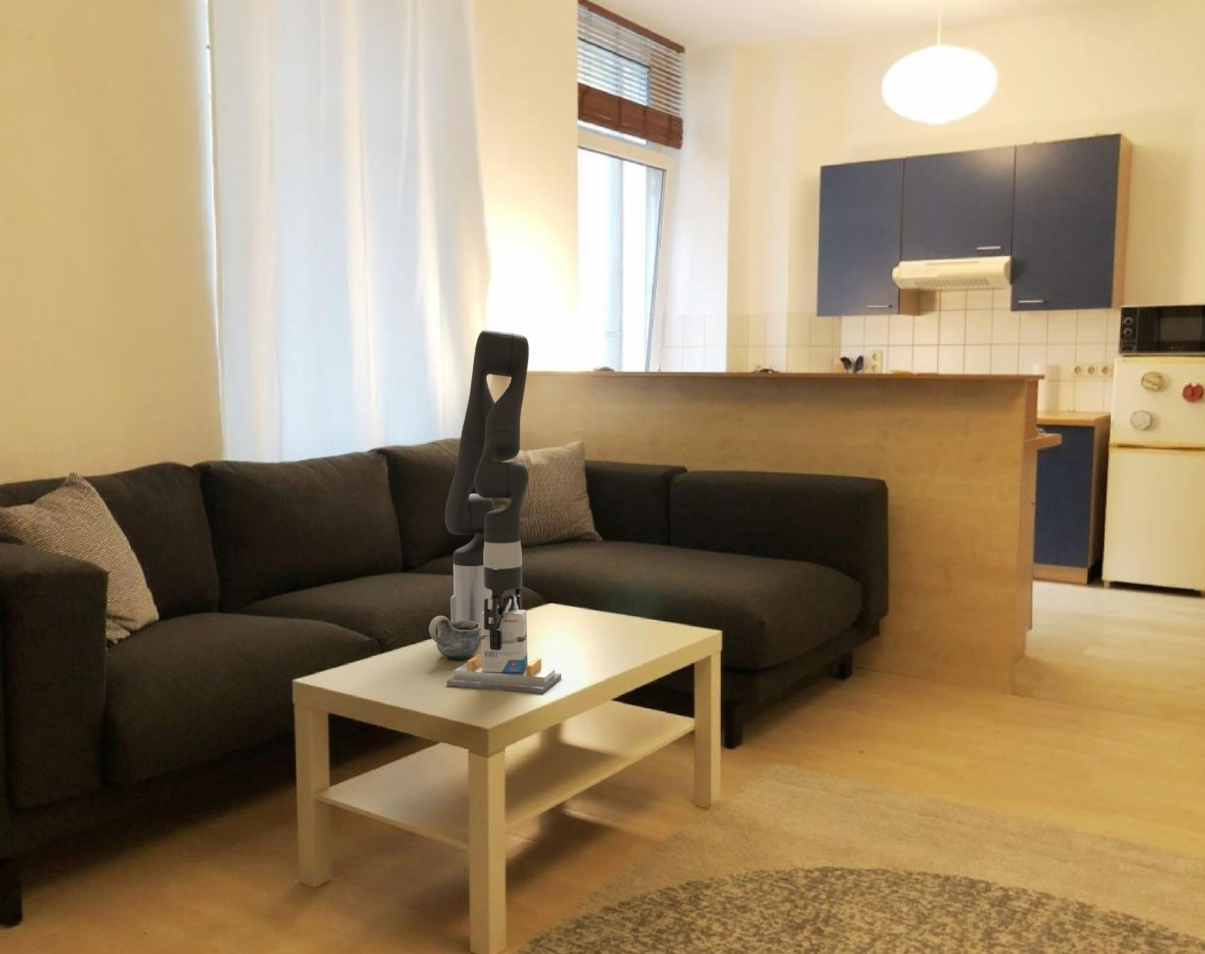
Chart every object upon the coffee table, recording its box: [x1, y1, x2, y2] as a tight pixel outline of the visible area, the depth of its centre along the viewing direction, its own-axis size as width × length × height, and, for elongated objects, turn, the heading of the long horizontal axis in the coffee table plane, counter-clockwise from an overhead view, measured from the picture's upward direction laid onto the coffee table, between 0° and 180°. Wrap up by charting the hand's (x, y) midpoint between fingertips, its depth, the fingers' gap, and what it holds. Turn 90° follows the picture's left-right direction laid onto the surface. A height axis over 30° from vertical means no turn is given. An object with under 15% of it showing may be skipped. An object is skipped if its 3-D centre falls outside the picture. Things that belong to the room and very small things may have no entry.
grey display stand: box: [446, 653, 562, 695], centre depth 220 cm, size 20×11×4 cm, turn 73°
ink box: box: [480, 609, 529, 672], centre depth 220 cm, size 8×5×12 cm, turn 83°
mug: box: [428, 615, 481, 660], centre depth 238 cm, size 10×12×10 cm
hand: (504, 644), depth 220 cm, fingers open, 8 cm apart
